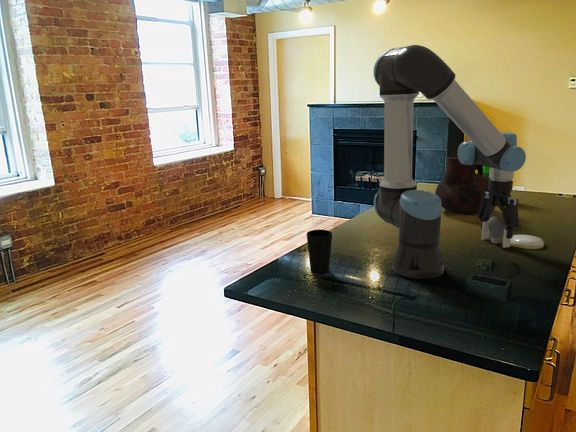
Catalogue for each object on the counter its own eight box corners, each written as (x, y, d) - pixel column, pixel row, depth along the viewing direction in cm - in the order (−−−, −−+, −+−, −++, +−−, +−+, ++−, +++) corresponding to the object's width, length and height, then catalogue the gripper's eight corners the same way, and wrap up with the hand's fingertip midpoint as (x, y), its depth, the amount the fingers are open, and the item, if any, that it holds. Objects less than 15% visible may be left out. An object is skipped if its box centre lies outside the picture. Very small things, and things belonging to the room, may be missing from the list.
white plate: (527, 250, 157) (527, 245, 157) (502, 241, 167) (502, 236, 167) (551, 246, 161) (551, 241, 161) (525, 237, 171) (525, 232, 170)
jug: (507, 213, 203) (513, 155, 197) (471, 223, 190) (476, 161, 183) (458, 202, 223) (461, 149, 217) (422, 211, 210) (424, 155, 203)
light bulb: (506, 246, 162) (508, 218, 159) (487, 245, 163) (489, 217, 161) (502, 241, 168) (504, 213, 165) (484, 240, 169) (486, 213, 166)
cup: (324, 277, 140) (324, 238, 137) (302, 272, 144) (301, 234, 141) (336, 268, 146) (336, 231, 143) (314, 264, 150) (314, 228, 147)
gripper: (536, 183, 151) (529, 250, 157) (485, 173, 171) (480, 233, 177) (518, 186, 148) (511, 254, 154) (469, 175, 168) (464, 236, 174)
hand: (495, 242), depth 165 cm, fingers open, 9 cm apart
